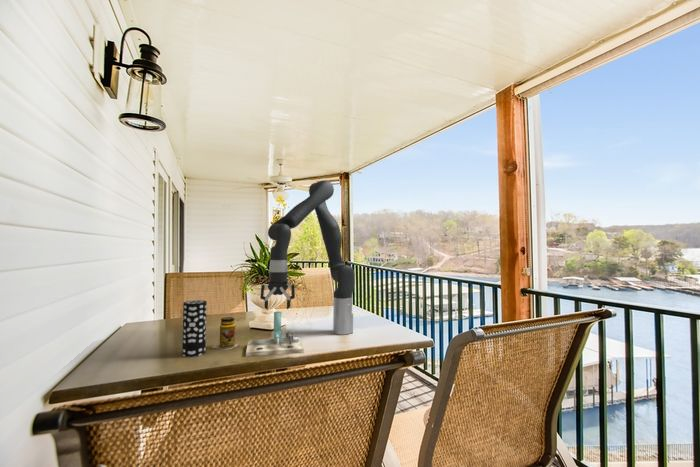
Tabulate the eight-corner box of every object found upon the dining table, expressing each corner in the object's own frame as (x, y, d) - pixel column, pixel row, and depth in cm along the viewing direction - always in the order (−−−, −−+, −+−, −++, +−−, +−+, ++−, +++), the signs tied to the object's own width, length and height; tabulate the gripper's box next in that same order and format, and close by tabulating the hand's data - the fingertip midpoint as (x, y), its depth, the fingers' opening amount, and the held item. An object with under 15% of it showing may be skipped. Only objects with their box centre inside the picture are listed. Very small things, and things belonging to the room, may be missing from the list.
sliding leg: (280, 338, 145) (281, 311, 145) (281, 345, 136) (282, 315, 136) (273, 339, 144) (273, 311, 145) (274, 345, 135) (274, 315, 135)
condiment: (228, 350, 137) (229, 320, 137) (211, 348, 140) (211, 318, 140) (239, 345, 144) (240, 316, 144) (222, 343, 146) (223, 315, 147)
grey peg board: (300, 342, 148) (300, 328, 148) (303, 352, 135) (303, 337, 135) (247, 345, 143) (248, 331, 143) (245, 356, 129) (246, 340, 130)
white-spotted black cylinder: (190, 358, 127) (191, 304, 127) (177, 354, 131) (178, 302, 132) (209, 352, 134) (211, 301, 134) (197, 349, 138) (198, 299, 139)
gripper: (294, 270, 149) (293, 307, 148) (261, 270, 146) (260, 307, 145) (296, 271, 142) (295, 310, 141) (260, 271, 138) (259, 311, 138)
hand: (277, 309), depth 143 cm, fingers open, 8 cm apart
